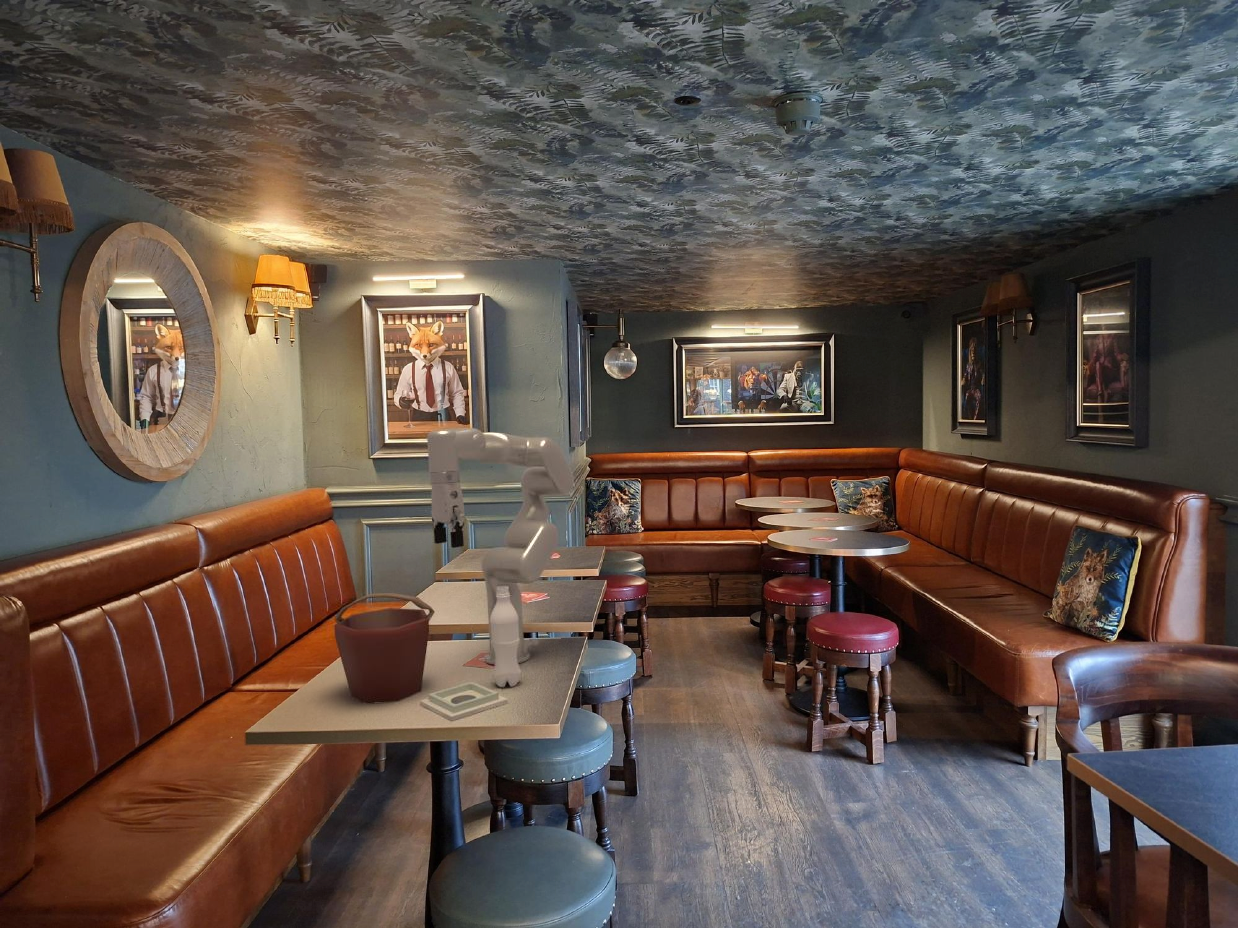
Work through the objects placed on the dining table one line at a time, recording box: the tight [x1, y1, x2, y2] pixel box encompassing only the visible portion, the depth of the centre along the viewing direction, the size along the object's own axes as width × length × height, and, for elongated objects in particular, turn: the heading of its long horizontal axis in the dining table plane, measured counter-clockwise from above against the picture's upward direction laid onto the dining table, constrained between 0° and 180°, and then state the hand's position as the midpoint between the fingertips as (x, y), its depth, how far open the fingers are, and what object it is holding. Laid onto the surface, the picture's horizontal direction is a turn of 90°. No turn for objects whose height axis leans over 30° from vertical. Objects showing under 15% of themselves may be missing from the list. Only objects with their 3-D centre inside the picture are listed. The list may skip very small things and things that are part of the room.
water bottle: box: [490, 586, 522, 688], centre depth 201 cm, size 7×7×25 cm
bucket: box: [333, 592, 435, 704], centre depth 198 cm, size 24×22×25 cm
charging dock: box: [419, 681, 509, 722], centre depth 188 cm, size 15×15×2 cm
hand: (449, 544), depth 203 cm, fingers open, 9 cm apart
